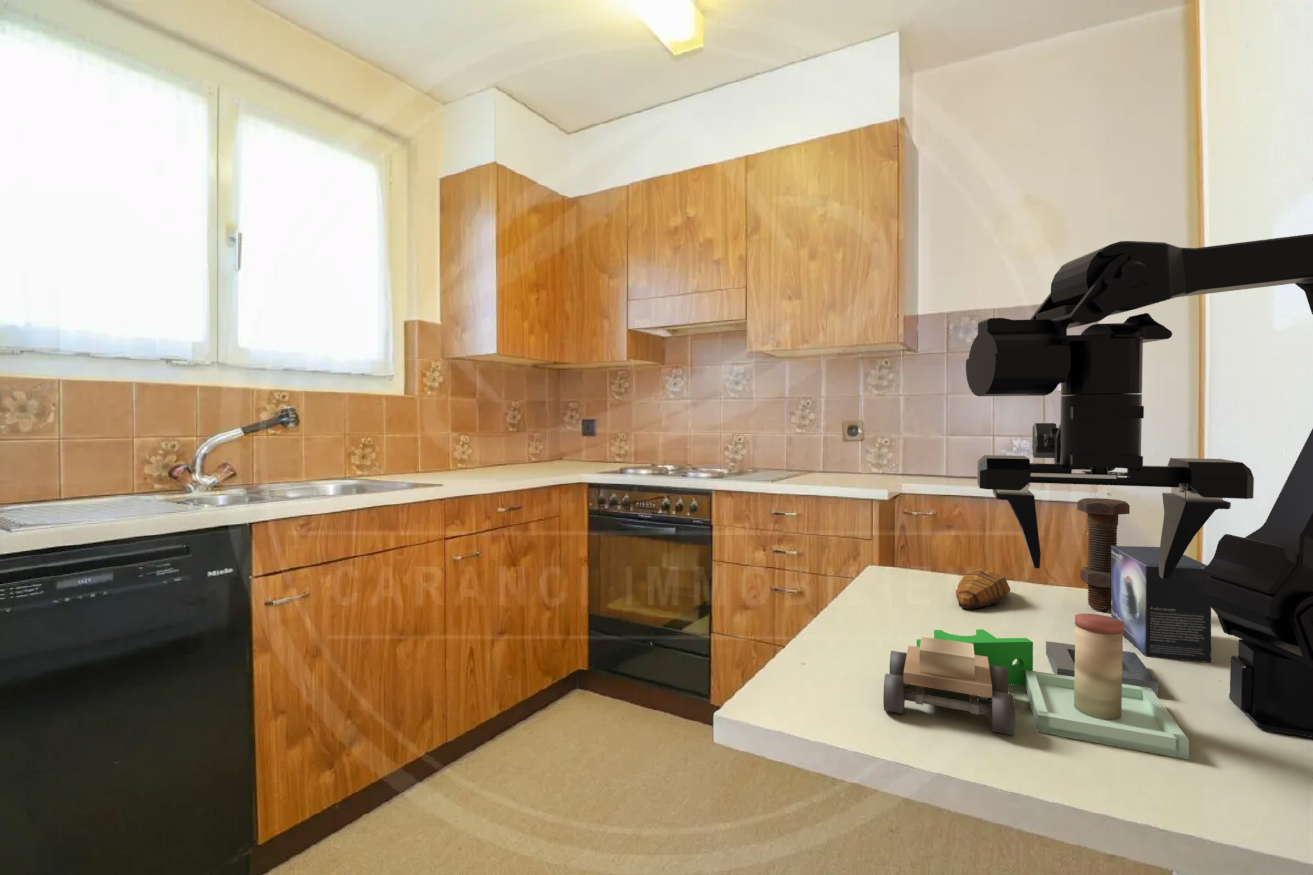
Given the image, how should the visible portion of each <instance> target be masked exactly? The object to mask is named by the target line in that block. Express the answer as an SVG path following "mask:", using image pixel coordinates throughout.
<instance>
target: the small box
mask: <svg viewBox="0 0 1313 875" xmlns="http://www.w3.org/2000/svg"><path fill="white" fill-rule="evenodd" d="M1159 551H1160V546H1139V545H1138V546H1134V545H1117V546H1111V612H1110V613H1111V614H1110V617H1112V618H1115V619H1118V620H1120V621H1122V622H1123V623H1124V632H1123V638H1125V639H1126V640H1127V641H1128V642H1129V643H1130V644H1131V645H1132V646H1134V648H1136V649H1137V650H1138V651H1139V652H1140V653H1141V654H1142V655H1143V656H1144V657H1149V658H1150V657H1151V658H1161V659H1169V660H1170V659H1171V660H1181V661H1193V662H1204V663H1212V662H1213V655H1212V654H1213V653H1212V652H1213V648H1212V608H1211V607H1210V604H1209V602H1208V599H1207V597H1206V596H1205V595H1204V585H1205V581H1206V578H1207V576H1208V575H1207V574H1203V573H1202V570H1203V569H1204V568H1205V567H1206V566H1207V565H1208V564H1205V563H1202V562H1201V561H1198V560H1196V559H1194V558H1192V557H1190V556H1187V555H1186V554H1183V556H1182V557H1181V559H1180V561H1179V562H1178V564H1177V566H1176V567H1175V569H1174V571H1173V573H1172V574H1171V576H1170V578H1169V579H1162V578H1161V577H1160V576H1159Z"/></svg>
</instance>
